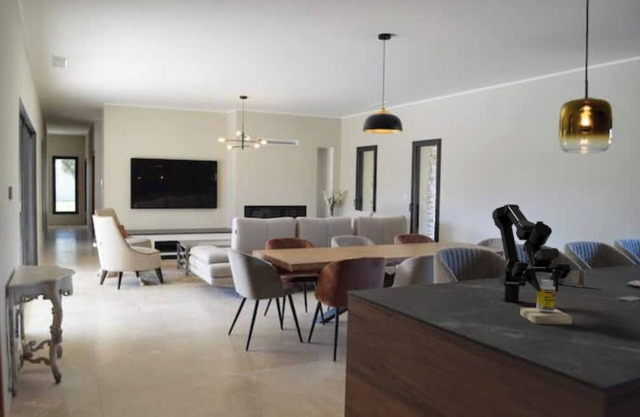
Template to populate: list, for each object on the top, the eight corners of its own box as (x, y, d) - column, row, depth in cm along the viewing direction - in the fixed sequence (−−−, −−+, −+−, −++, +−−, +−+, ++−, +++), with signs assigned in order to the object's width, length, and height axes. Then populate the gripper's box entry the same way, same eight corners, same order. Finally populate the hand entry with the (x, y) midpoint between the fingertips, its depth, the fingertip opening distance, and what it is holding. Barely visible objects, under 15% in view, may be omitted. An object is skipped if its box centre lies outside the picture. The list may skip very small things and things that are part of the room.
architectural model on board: (557, 286, 243) (558, 265, 242) (557, 285, 246) (558, 264, 245) (584, 288, 238) (585, 267, 238) (584, 287, 241) (585, 266, 240)
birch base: (520, 314, 181) (520, 307, 180) (554, 315, 181) (554, 308, 181) (535, 323, 169) (535, 315, 168) (571, 324, 169) (572, 316, 169)
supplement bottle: (543, 312, 171) (544, 281, 171) (532, 308, 177) (534, 278, 176) (558, 311, 173) (559, 281, 172) (547, 307, 178) (548, 278, 178)
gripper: (516, 238, 177) (528, 276, 167) (570, 240, 178) (585, 278, 167) (506, 258, 186) (517, 295, 175) (558, 259, 186) (572, 297, 176)
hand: (548, 291), depth 173 cm, fingers closed on supplement bottle, 5 cm apart
